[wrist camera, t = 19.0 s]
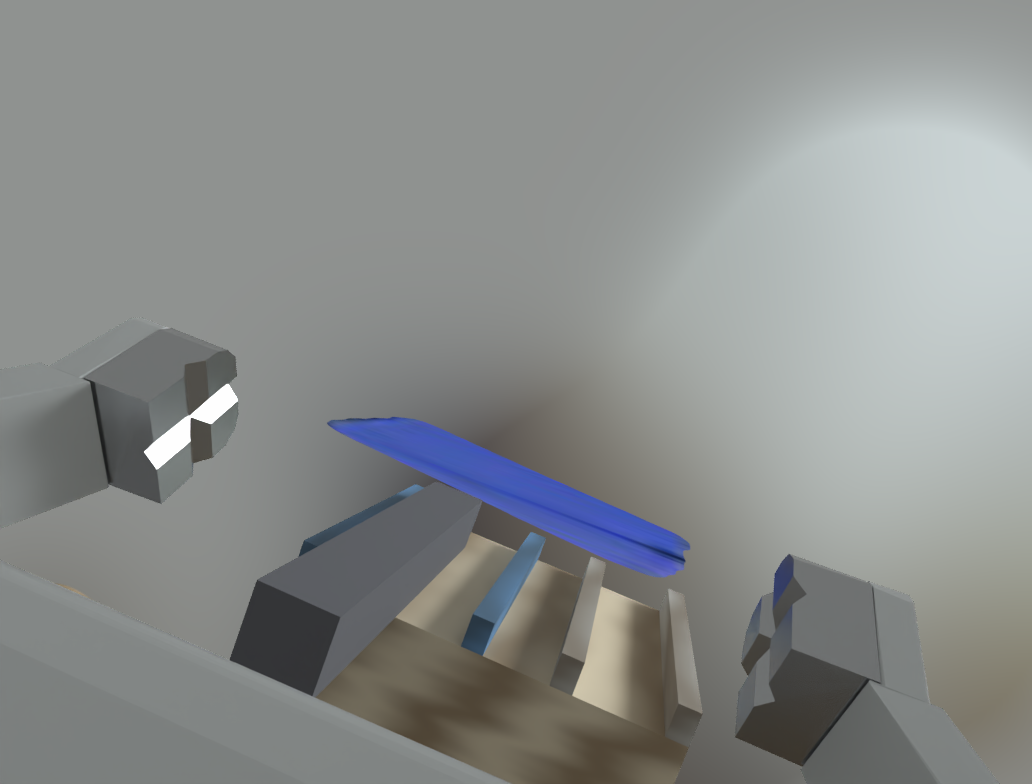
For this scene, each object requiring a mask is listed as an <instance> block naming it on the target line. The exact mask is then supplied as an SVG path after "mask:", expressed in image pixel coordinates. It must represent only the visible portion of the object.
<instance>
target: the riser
mask: <svg viewBox="0 0 1032 784" xmlns="http://www.w3.org/2000/svg"><path fill="white" fill-rule="evenodd" d="M422 489H424V488H423V487H421V486H418V485H416V484H415V485H413V486H411V487H409V488H407V489H406V490H404V491H402V492H400V493H398V494H396V495H394V496H392V497H390V498H388V499H386V500H384V501H382V502H380V503H378V504H376V505H374V506H372V507H370V508H368V509H366V510H364V511H362V512H360V513H358V514H356V515H354V516H352V517H350V518H348V519H346V520H344V521H342V522H340V523H338V524H336V525H334V526H332V527H330V528H328V529H326V530H324V531H322V532H320V533H318V534H316V535H314V536H312V537H310V538H308V539H306V540H304V542H303V545H302V548H301V551H300V554H299V557H300V556H301V555H303V554H305V553H307V552H309V551H311V550H312V549H314V548H316V547H318V546H320V545H322V544H323V543H325V542H327V541H329V540H331V539H332V538H334V537H336V536H338V535H340V534H342V533H343V532H345V531H347V530H349V529H351V528H353V527H354V526H356V525H358V524H360V523H362V522H363V521H365V520H367V519H369V518H371V517H373V516H374V515H376V514H378V513H380V512H382V511H383V510H385V509H387V508H389V507H391V506H393V505H394V504H396V503H398V502H400V501H402V500H404V499H405V498H407V497H409V496H411V495H413V494H414V493H416V492H418V491H420V490H422ZM545 539H546V538H545V537H542V536H539V535H537V534H535V533H532V532H531V533H530V534H529V536H528V537H527V539H526V540H525V541H524V543H523V544H522V545H521V547H520V548H519V550H518V551H515V550H512V549H510V548H508V547H505V546H503V545H500V544H498V543H495V542H493V541H491V540H488V539H486V538H484V537H481V536H479V535H476V534H474V533H472V532H471V533H470V536H469V539H468V542H467V544H466V547H465V548H464V549H463V550H462V551H461V552H460V553H459V554H458V555H457V556H456V557H455V558H454V559H453V560H452V561H451V562H450V563H449V564H448V565H447V566H446V567H445V568H444V569H443V570H442V571H441V572H440V573H439V574H438V575H437V576H436V577H435V578H434V579H433V580H432V581H431V582H430V583H429V584H428V585H427V586H426V587H425V588H424V589H423V590H422V591H421V592H420V593H419V594H418V595H417V596H416V597H415V598H414V599H413V600H412V601H411V602H410V603H409V604H408V605H407V606H406V607H405V608H404V609H403V610H402V611H401V612H400V613H399V614H398V615H397V616H396V617H395V618H394V619H393V620H392V621H391V622H390V623H389V624H388V625H387V626H386V627H385V628H384V629H383V630H382V631H381V632H380V633H379V634H378V635H377V636H376V637H375V638H374V639H373V640H372V641H371V642H370V643H369V644H368V645H367V646H366V647H365V648H364V649H363V650H362V651H361V652H360V653H359V654H358V655H357V656H356V657H355V658H354V659H353V660H352V661H351V662H350V663H349V664H348V665H347V666H346V667H345V668H344V669H343V670H342V671H341V672H340V673H339V674H338V675H337V676H336V677H335V678H334V679H333V680H332V681H331V682H330V683H329V684H328V685H327V686H326V687H325V688H324V689H323V690H322V691H321V692H320V693H319V694H318V695H317V696H316V697H315V698H317V699H319V700H322V701H324V702H326V703H328V704H331V705H333V706H335V707H338V708H340V709H342V710H344V711H347V712H349V713H351V714H354V715H356V716H358V717H360V718H363V719H365V720H367V721H369V722H372V723H374V724H376V725H379V726H381V727H383V728H385V729H388V730H390V731H392V732H395V733H397V734H399V735H401V736H404V737H406V738H408V739H411V740H413V741H415V742H417V743H420V744H422V745H424V746H427V747H429V748H431V749H434V750H436V751H438V752H440V753H443V754H445V755H447V756H450V757H452V758H454V759H456V760H459V761H461V762H463V763H466V764H468V765H470V766H473V767H475V768H477V769H479V770H482V771H484V772H486V773H489V774H491V775H493V776H495V777H498V778H500V779H502V780H505V781H507V782H509V783H512V784H674V783H675V780H676V777H677V775H678V773H679V770H680V768H681V765H682V763H683V760H684V758H685V755H686V753H687V750H688V748H689V746H690V743H691V741H692V739H693V736H694V733H695V731H696V729H697V726H698V724H699V721H700V719H701V716H702V714H703V713H702V707H701V701H700V695H699V688H698V682H697V676H696V669H695V663H694V656H693V650H692V644H691V637H690V631H689V625H688V618H687V612H686V606H685V599H684V595H683V594H680V593H678V592H675V591H673V590H671V589H668V590H667V593H666V595H665V598H664V601H663V603H662V605H661V608H660V610H659V611H658V610H656V609H654V608H651V607H649V606H646V605H644V604H641V603H639V602H637V601H634V600H632V599H629V598H627V597H625V596H622V595H620V594H617V593H615V592H613V591H610V590H608V589H606V588H603V587H601V585H602V581H603V575H604V571H605V566H606V563H605V562H603V561H600V560H598V559H595V558H593V557H591V558H590V561H589V564H588V566H587V568H586V571H585V574H584V576H583V579H581V578H579V577H577V576H575V575H572V574H570V573H567V572H565V571H563V570H560V569H558V568H555V567H553V566H551V565H548V564H546V563H543V562H541V561H539V560H538V557H539V555H540V552H541V550H542V547H543V545H544V542H545Z"/></svg>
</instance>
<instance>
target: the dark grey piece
mask: <svg viewBox="0 0 1032 784" xmlns="http://www.w3.org/2000/svg"><path fill="white" fill-rule="evenodd" d="M482 501H483V500H480V499H478V498H475V497H473V496H470V495H468V494H465V493H463V492H461V491H458V490H456V489H453V488H451V487H448V486H446V485H443V484H441V483H439V482H434V483H433V484H431V485H429V486H427V487H426V488H424V489H422V490H420V491H418V492H416V493H414V494H413V495H411V496H409V497H407V498H405V499H404V500H402V501H400V502H398V503H396V504H394V505H393V506H391V507H389V508H387V509H385V510H383V511H382V512H380V513H378V514H376V515H374V516H373V517H371V518H369V519H367V520H365V521H363V522H362V523H360V524H358V525H356V526H354V527H353V528H351V529H349V530H347V531H345V532H343V533H342V534H340V535H338V536H336V537H334V538H332V539H331V540H329V541H327V542H325V543H323V544H322V545H320V546H318V547H316V548H314V549H312V550H311V551H309V552H307V553H305V554H303V555H301V556H300V557H298V558H296V559H294V560H292V561H291V562H289V563H287V564H285V565H283V566H281V567H280V568H278V569H276V570H274V571H272V572H271V573H269V574H267V575H265V576H263V577H261V578H260V579H258V580H257V582H256V585H255V587H254V590H253V593H252V596H251V599H250V602H249V605H248V608H247V611H246V614H245V617H244V620H243V623H242V625H241V628H240V631H239V634H238V637H237V640H236V643H235V646H234V649H233V652H232V654H231V657H230V661H233V662H235V663H237V664H240V665H242V666H244V667H246V668H249V669H251V670H253V671H256V672H258V673H260V674H262V675H265V676H267V677H269V678H271V679H274V680H276V681H278V682H281V683H283V684H285V685H287V686H290V687H292V688H294V689H297V690H299V691H301V692H303V693H306V694H308V695H310V696H312V697H316V696H317V695H318V694H319V693H320V692H321V691H322V690H323V689H324V688H325V687H326V686H327V685H328V684H329V683H330V682H331V681H332V680H333V679H334V678H335V677H336V676H337V675H338V674H339V673H340V672H341V671H342V670H343V669H344V668H345V667H346V666H347V665H348V664H349V663H350V662H351V661H352V660H353V659H354V658H355V657H356V656H357V655H358V654H359V653H360V652H361V651H362V650H363V649H364V648H365V647H366V646H367V645H368V644H369V643H370V642H371V641H372V640H373V639H374V638H375V637H376V636H377V635H378V634H379V633H380V632H381V631H382V630H383V629H384V628H385V627H386V626H387V625H388V624H389V623H390V622H391V621H392V620H393V619H394V618H395V617H396V616H397V615H398V614H399V613H400V612H401V611H402V610H403V609H404V608H405V607H406V606H407V605H408V604H409V603H410V602H411V601H412V600H413V599H414V598H415V597H416V596H417V595H418V594H419V593H420V592H421V591H422V590H423V589H424V588H425V587H426V586H427V585H428V584H429V583H430V582H431V581H432V580H433V579H434V578H435V577H436V576H437V575H438V574H439V573H440V572H441V571H442V570H443V569H444V568H445V567H446V566H447V565H448V564H449V563H450V562H451V561H452V560H453V559H454V558H455V557H456V556H457V555H458V554H459V553H460V552H461V551H462V550H463V549H464V548H465V547H466V544H467V542H468V539H469V536H470V533H471V531H472V528H473V525H474V523H475V520H476V517H477V514H478V512H479V509H480V506H481V504H482Z"/></svg>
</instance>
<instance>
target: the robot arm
mask: <svg viewBox="0 0 1032 784" xmlns="http://www.w3.org/2000/svg"><path fill="white" fill-rule="evenodd" d="M236 376H237V370H236V359H235V356H234V355H233V354H231V353H230V352H229V351H228V350H226V349H223V348H221V347H218V346H216V345H213V344H211V343H208V342H205V341H203V340H200V339H198V338H195V337H193V336H190V335H188V334H185V333H183V332H180V331H177V330H175V329H172V328H167V327H166V326H163V325H160V324H158V323H155V322H153V321H150V320H148V319H145V318H131V319H129V320H127V321H125V322H124V323H122V324H120V325H119V326H117V327H115V328H114V329H112V330H110V331H108V332H107V333H105V334H103V335H102V336H100V337H98V338H96V339H95V340H93V341H91V342H90V343H88V344H86V345H84V346H83V347H81V348H79V349H78V350H76V351H74V352H73V353H71V354H69V355H68V356H66V357H64V358H62V359H61V360H59V361H57V362H55V363H54V364H52V365H50V366H48V365H45V364H42V363H36V364H29V365H23V366H17V367H11V368H5V369H0V529H1V528H4V527H6V526H9V525H12V524H14V523H17V522H19V521H22V520H25V519H27V518H30V517H32V516H35V515H38V514H40V513H43V512H46V511H48V510H51V509H54V508H56V507H59V506H62V505H64V504H66V503H69V502H72V501H74V500H77V499H80V498H83V497H85V496H88V495H90V494H93V493H96V492H98V491H101V490H103V489H106V488H108V487H109V485H112V486H114V487H117V488H120V489H123V490H125V491H128V492H130V493H133V494H136V495H138V496H141V497H144V498H147V499H149V500H152V501H155V502H157V503H160V504H162V503H163V502H164V501H165V500H166V499H167V498H168V497H169V496H171V495H172V494H173V493H174V492H175V491H176V490H177V489H178V488H180V487H181V486H182V485H183V484H184V483H185V482H186V481H187V480H188V479H189V478H191V477H192V475H193V463H195V462H199V461H202V460H206V459H209V458H213V457H214V456H215V455H216V454H217V453H218V452H219V451H220V450H221V449H222V448H223V447H224V446H225V445H226V443H227V441H228V440H229V438H230V436H231V435H232V433H233V431H234V429H235V426H236V421H237V417H238V400H237V398H236V396H235V395H234V393H233V391H232V390H231V388H230V386H229V385H228V384H229V383H230V382H231V381H232V380H233V379H234V378H235V377H236ZM108 484H109V485H108ZM741 664H742V666H743V668H744V669H745V671H746V673H747V675H748V677H747V679H746V681H745V682H744V684H743V686H742V688H741V689H740V691H739V694H738V706H737V718H736V729H735V737H736V738H738V739H740V740H743V741H745V742H747V743H749V744H752V745H754V746H756V747H758V748H761V749H763V750H765V751H768V752H770V753H772V754H775V755H777V756H779V757H782V758H784V759H786V760H788V761H791V762H793V763H795V764H797V765H800V766H802V768H801V771H802V774H803V776H804V778H805V781H806V783H807V784H999V782H998V781H997V780H996V778H995V777H994V776H993V774H992V773H991V772H990V770H989V769H988V768H987V767H986V765H985V764H984V762H983V761H982V760H981V759H980V757H979V756H978V755H977V753H976V752H975V751H974V749H973V748H972V747H971V745H970V744H969V743H968V741H967V740H966V739H965V738H964V736H963V735H962V734H961V732H960V731H959V730H958V728H957V727H956V726H955V725H954V723H953V722H952V720H951V719H950V718H949V716H948V715H947V714H946V712H945V711H944V710H943V708H940V707H937V706H935V705H932V704H930V700H929V694H928V688H927V682H926V675H925V669H924V662H923V657H922V650H921V644H920V638H919V631H918V625H917V619H916V612H915V606H914V601H913V600H912V599H911V597H910V596H909V595H907V594H904V593H902V592H899V591H896V590H893V589H890V588H887V587H884V586H881V585H878V584H875V583H872V582H869V581H868V582H866V581H864V580H861V579H858V578H855V577H852V576H850V575H847V574H844V573H841V572H838V571H836V570H833V569H830V568H827V567H825V566H822V565H819V564H816V563H813V562H810V561H808V560H805V559H802V558H799V557H796V556H794V555H791V554H789V555H788V556H787V557H786V558H785V559H784V560H783V561H782V563H781V564H780V566H779V567H778V569H777V571H776V573H775V578H774V592H772V593H770V594H767V595H764V596H762V597H761V599H760V601H759V603H758V605H757V607H756V609H755V611H754V612H753V615H752V618H751V621H750V623H749V626H748V629H747V632H746V636H745V641H744V646H743V653H742V662H741ZM0 784H512V783H509V782H507V781H505V780H502V779H500V778H498V777H495V776H493V775H491V774H489V773H486V772H484V771H482V770H479V769H477V768H475V767H473V766H470V765H468V764H466V763H463V762H461V761H459V760H456V759H454V758H452V757H450V756H447V755H445V754H443V753H440V752H438V751H436V750H434V749H431V748H429V747H427V746H424V745H422V744H420V743H417V742H415V741H413V740H411V739H408V738H406V737H404V736H401V735H399V734H397V733H395V732H392V731H390V730H388V729H385V728H383V727H381V726H379V725H376V724H374V723H372V722H369V721H367V720H365V719H363V718H360V717H358V716H356V715H354V714H351V713H349V712H347V711H344V710H342V709H340V708H338V707H335V706H333V705H331V704H328V703H326V702H324V701H322V700H319V699H317V698H315V697H312V696H310V695H308V694H306V693H303V692H301V691H299V690H297V689H294V688H292V687H290V686H287V685H285V684H283V683H281V682H278V681H276V680H274V679H271V678H269V677H267V676H265V675H262V674H260V673H258V672H256V671H253V670H251V669H249V668H246V667H244V666H242V665H240V664H237V663H235V662H233V661H230V660H228V659H226V658H224V657H221V656H219V655H216V654H214V653H212V652H210V651H208V650H205V649H203V648H201V647H199V646H196V645H194V644H192V643H189V642H187V641H185V640H183V639H180V638H178V637H176V636H173V635H171V634H169V633H167V632H164V631H162V630H160V629H157V628H155V627H153V626H150V625H148V624H146V623H144V622H141V621H139V620H137V619H135V618H132V617H130V616H128V615H125V614H123V613H121V612H119V611H116V610H114V609H112V608H109V607H107V606H105V605H102V604H100V603H98V602H96V601H93V600H91V599H89V598H87V597H84V596H82V595H80V594H78V593H75V592H73V591H71V590H68V589H66V588H64V587H62V586H59V585H57V584H55V583H52V582H50V581H47V580H45V579H43V578H41V577H39V576H36V575H34V574H32V573H30V572H27V571H25V570H23V569H20V568H18V567H16V566H14V565H11V564H8V563H7V562H4V561H2V560H0Z"/></svg>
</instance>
